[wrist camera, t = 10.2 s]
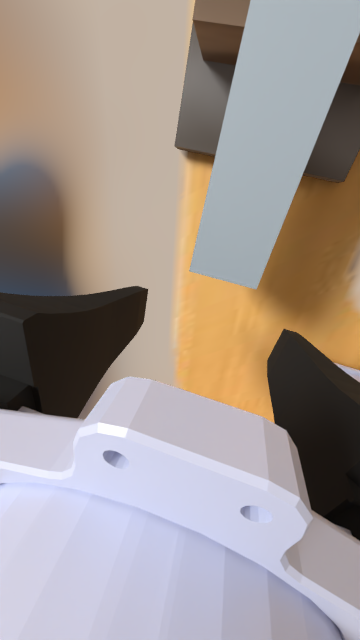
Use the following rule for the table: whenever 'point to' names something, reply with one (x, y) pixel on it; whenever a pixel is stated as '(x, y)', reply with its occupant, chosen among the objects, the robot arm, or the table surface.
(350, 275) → the table surface
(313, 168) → the fulcrum
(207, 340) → the table surface
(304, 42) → the batten
